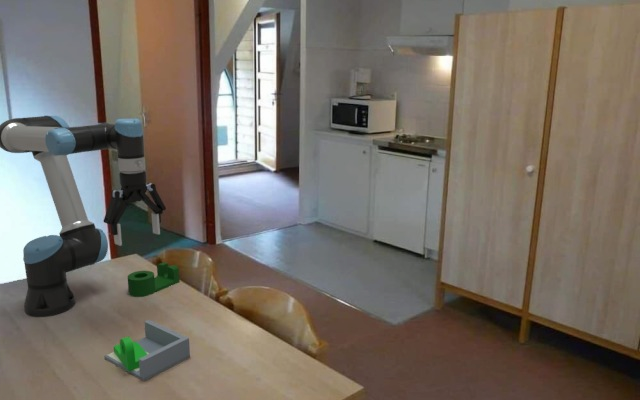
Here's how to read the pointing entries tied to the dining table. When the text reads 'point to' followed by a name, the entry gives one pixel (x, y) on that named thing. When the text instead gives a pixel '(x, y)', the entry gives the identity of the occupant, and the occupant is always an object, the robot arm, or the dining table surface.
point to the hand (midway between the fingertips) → (138, 239)
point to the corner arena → (157, 351)
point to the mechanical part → (129, 353)
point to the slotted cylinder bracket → (152, 280)
